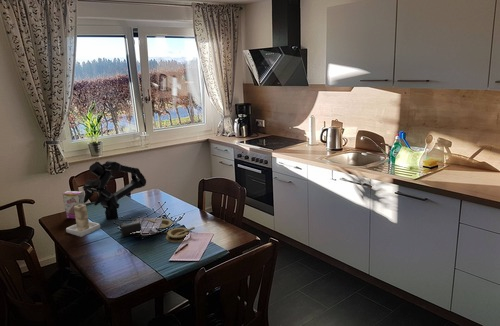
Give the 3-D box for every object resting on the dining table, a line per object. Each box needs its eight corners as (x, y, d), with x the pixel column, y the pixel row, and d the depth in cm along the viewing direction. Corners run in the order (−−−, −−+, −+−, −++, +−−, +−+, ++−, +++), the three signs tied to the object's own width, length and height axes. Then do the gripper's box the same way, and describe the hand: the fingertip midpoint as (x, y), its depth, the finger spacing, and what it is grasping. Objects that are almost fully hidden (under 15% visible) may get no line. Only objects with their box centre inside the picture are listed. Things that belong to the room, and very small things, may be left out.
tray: (86, 223, 221) (85, 220, 220) (100, 228, 215) (99, 224, 214) (66, 232, 210) (65, 228, 210) (81, 236, 204) (80, 232, 204)
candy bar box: (66, 218, 229) (61, 193, 225) (71, 215, 234) (67, 190, 230) (82, 219, 227) (78, 193, 223) (87, 216, 232) (83, 191, 228)
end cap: (123, 239, 200) (121, 227, 198) (120, 234, 206) (118, 223, 204) (142, 234, 205) (140, 223, 203) (138, 230, 211) (137, 218, 209)
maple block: (84, 226, 215) (80, 203, 212) (89, 228, 213) (85, 204, 210) (77, 229, 212) (73, 206, 208) (82, 231, 210) (78, 207, 206)
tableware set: (141, 231, 211) (139, 221, 209) (171, 220, 224) (170, 211, 222) (169, 248, 190) (168, 237, 188) (201, 235, 203) (200, 225, 201)
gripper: (82, 171, 219) (68, 195, 213) (104, 175, 210) (90, 200, 203) (96, 180, 227) (82, 203, 221) (117, 184, 218) (104, 209, 212)
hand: (89, 204), depth 214 cm, fingers open, 9 cm apart
